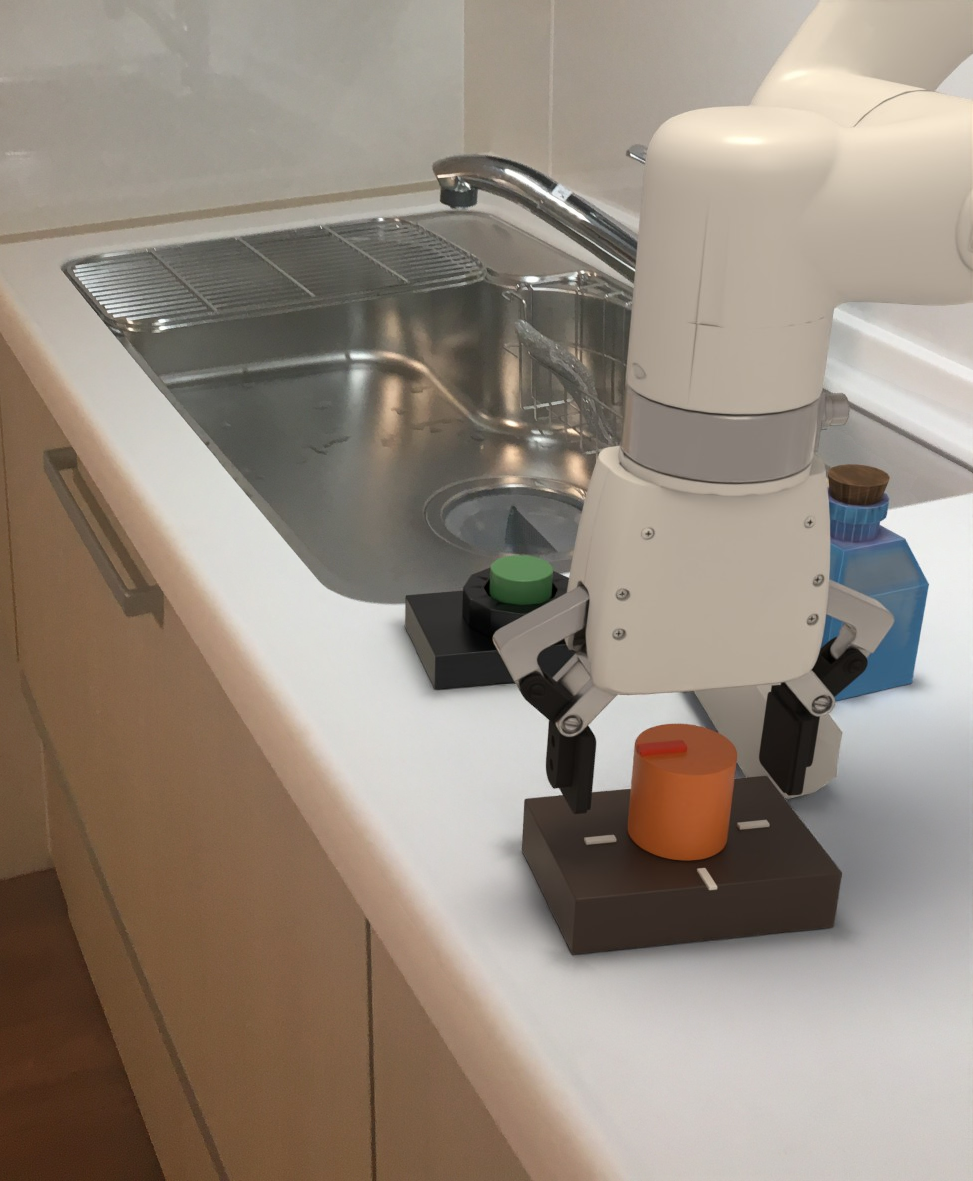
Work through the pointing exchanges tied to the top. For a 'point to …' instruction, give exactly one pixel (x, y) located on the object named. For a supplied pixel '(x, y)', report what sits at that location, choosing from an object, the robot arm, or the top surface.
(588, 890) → the dial block
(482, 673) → the button housing
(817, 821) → the top surface
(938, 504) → the top surface
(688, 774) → the dial knob
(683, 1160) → the top surface
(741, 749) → the tube
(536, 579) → the button
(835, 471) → the perfume bottle
